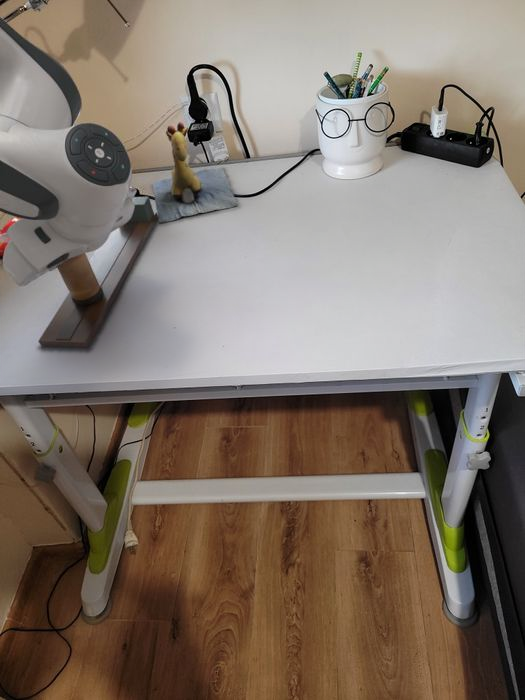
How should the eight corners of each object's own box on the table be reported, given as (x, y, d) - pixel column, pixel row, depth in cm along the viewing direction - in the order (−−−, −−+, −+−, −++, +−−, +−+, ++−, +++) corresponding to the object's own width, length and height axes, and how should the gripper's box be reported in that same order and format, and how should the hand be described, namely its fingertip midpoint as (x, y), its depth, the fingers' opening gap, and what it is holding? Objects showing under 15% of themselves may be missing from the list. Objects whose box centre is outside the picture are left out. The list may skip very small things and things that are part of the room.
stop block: (151, 227, 101) (144, 204, 97) (118, 227, 102) (110, 205, 98) (155, 218, 103) (148, 196, 99) (123, 219, 104) (115, 197, 100)
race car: (7, 261, 98) (-3, 244, 95) (-12, 257, 100) (-23, 239, 97) (54, 225, 106) (46, 208, 103) (35, 221, 108) (27, 204, 105)
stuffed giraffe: (159, 223, 101) (138, 142, 90) (153, 185, 114) (134, 110, 103) (238, 208, 102) (227, 127, 92) (222, 172, 116) (212, 97, 105)
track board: (88, 348, 78) (85, 342, 77) (41, 346, 79) (37, 340, 78) (158, 217, 103) (156, 211, 102) (121, 218, 104) (119, 212, 103)
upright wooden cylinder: (74, 309, 82) (34, 230, 72) (70, 292, 86) (31, 213, 75) (105, 298, 84) (70, 218, 73) (100, 281, 87) (65, 203, 76)
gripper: (124, 164, 72) (106, 208, 84) (-6, 235, 62) (-5, 273, 74) (152, 200, 73) (131, 238, 85) (29, 276, 63) (24, 307, 75)
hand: (66, 255), depth 79 cm, fingers closed on upright wooden cylinder, 5 cm apart
